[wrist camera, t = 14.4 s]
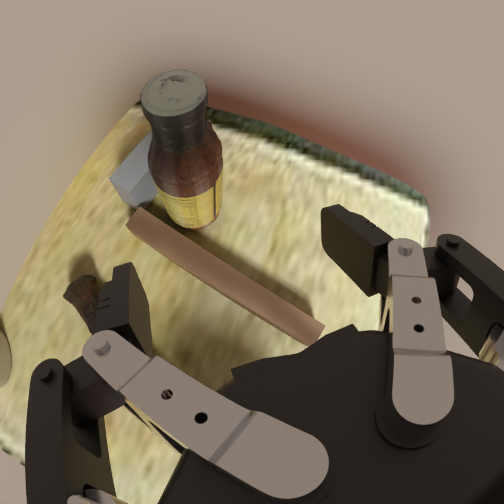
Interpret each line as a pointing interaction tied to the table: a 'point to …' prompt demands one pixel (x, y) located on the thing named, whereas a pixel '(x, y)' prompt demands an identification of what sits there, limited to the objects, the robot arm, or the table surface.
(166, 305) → the table surface
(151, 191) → the end stop
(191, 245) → the walnut straightedge
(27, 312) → the table surface
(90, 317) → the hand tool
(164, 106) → the sauce bottle
